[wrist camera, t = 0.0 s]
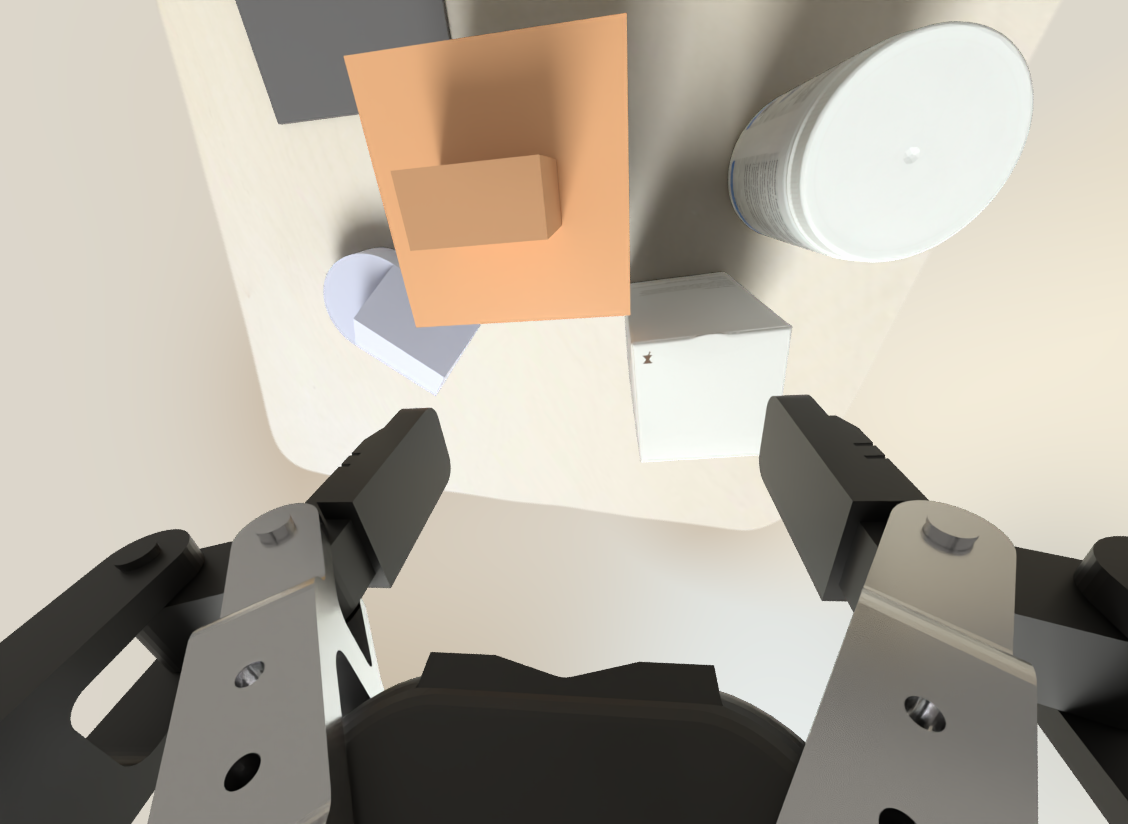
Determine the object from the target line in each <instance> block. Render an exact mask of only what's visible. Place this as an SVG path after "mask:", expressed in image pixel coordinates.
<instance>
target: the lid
mask: <svg viewBox="0 0 1128 824" xmlns="http://www.w3.org/2000/svg"><path fill="white" fill-rule="evenodd" d="M344 60H345V64H346V68H347V71H348V75H349V79H350V82H351V86H352V90H353V94H354V97H355V101H356V105H357V109H358V112H359V116H360V120H361V124H362V127H363V131H364V135H365V138H366V142H367V146H368V150H369V153H370V157H371V161H372V165H373V168H374V172H375V176H376V180H377V183H378V187H379V191H380V194H381V198H382V202H383V206H384V209H385V213H386V217H387V221H388V224H389V228H390V232H391V236H392V239H393V243H394V247H395V250H396V254H397V258H398V262H399V265H400V269H401V273H402V277H403V280H404V284H405V288H406V292H407V295H408V299H409V303H410V306H411V310H412V314H413V318H414V321H415V325H416V328H418V327H435V326H452V325H470V324H487V323H504V322H522V321H539V320H556V319H574V318H591V317H609V316H626V315H630V239H629V158H628V76H627V13H622V14H615V15H608V16H602V17H595V18H589V19H582V20H576V21H569V22H563V23H556V24H549V25H543V26H536V27H530V28H523V29H517V30H510V31H504V32H497V33H491V34H484V35H477V36H471V37H464V38H458V39H451V40H445V41H438V42H432V43H425V44H419V45H412V46H405V47H399V48H392V49H386V50H379V51H373V52H366V53H360V54H353V55H347V56H344Z"/></svg>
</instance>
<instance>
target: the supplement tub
mask: <svg viewBox="0 0 1128 824" xmlns="http://www.w3.org/2000/svg"><path fill="white" fill-rule="evenodd" d="M1032 112H1033V86H1032V80H1031V75H1030V71H1029V68H1028V66H1027V63H1026V61H1025V59H1024V57H1023V55H1022V54H1021V52H1020V51H1019V49H1018V48H1017V47H1016V46H1015V45H1014V44H1013V42H1012V41H1011V40H1009V39H1008V38H1007V37H1006V36H1004V35H1003V34H1002V33H1000V32H998V31H997V30H995V29H993V28H990V27H988V26H985V25H982V24H978V23H972V22H961V21H954V22H943V23H937V24H932V25H928V26H925V27H921V28H918V29H916V30H911V31H908V32H904V33H901V34H898V35H895V36H893V37H891V38H888V39H886V40H884V41H882V42H880V43H878V44H876V45H874V46H872V47H870V48H869V49H867V50H865V51H863V52H861V53H859V54H857V55H855V56H853V57H851V58H849V59H848V60H846V61H844V62H842V63H840V64H838V65H836V66H835V67H833V68H831V69H829V70H827V71H826V72H824V73H822V74H820V75H818V76H816V77H815V78H813V79H811V80H809V81H807V82H805V83H803V84H801V85H800V86H798V87H796V88H794V89H792V90H790V91H789V92H787V93H785V94H783V95H781V96H779V97H777V98H776V99H774V100H773V101H772V102H770V103H769V104H767V105H766V106H765V107H764V108H762V109H761V110H760V111H759V112H758V113H757V114H756V115H755V116H754V117H753V118H752V120H751V121H750V122H749V123H748V125H747V126H746V127H745V129H744V130H743V132H742V133H741V135H740V137H739V139H738V141H737V143H736V145H735V148H734V150H733V153H732V156H731V160H730V165H729V172H728V189H729V196H730V200H731V203H732V206H733V208H734V210H735V212H736V213H737V215H738V216H739V218H740V219H741V220H742V221H743V222H744V223H745V224H746V225H747V226H748V227H749V228H751V229H752V230H754V231H755V232H757V233H760V234H763V235H765V236H768V237H771V238H774V239H777V240H780V241H783V242H786V243H789V244H792V245H795V246H798V247H801V248H804V249H807V250H811V251H814V252H817V253H820V254H823V255H826V256H830V257H833V258H837V259H842V260H851V261H862V262H887V261H893V260H899V259H903V258H907V257H910V256H913V255H916V254H919V253H921V252H924V251H926V250H928V249H930V248H932V247H935V246H937V245H938V244H940V243H942V242H943V241H945V240H947V239H948V238H950V237H952V236H953V235H954V234H955V233H957V232H959V231H960V230H961V229H963V228H964V227H965V226H966V225H967V224H968V223H970V222H971V221H972V220H973V219H974V218H976V217H977V216H978V215H979V214H980V213H981V212H982V211H983V209H984V208H986V207H987V205H988V204H989V203H990V202H991V201H992V200H993V199H994V197H995V196H996V195H997V193H998V192H999V191H1000V190H1001V188H1002V187H1003V185H1004V183H1005V182H1006V181H1007V179H1008V177H1009V176H1010V174H1011V173H1012V171H1013V169H1014V167H1015V165H1016V163H1017V161H1018V160H1019V158H1020V155H1021V153H1022V150H1023V148H1024V146H1025V143H1026V140H1027V136H1028V133H1029V129H1030V125H1031V120H1032Z"/></svg>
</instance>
